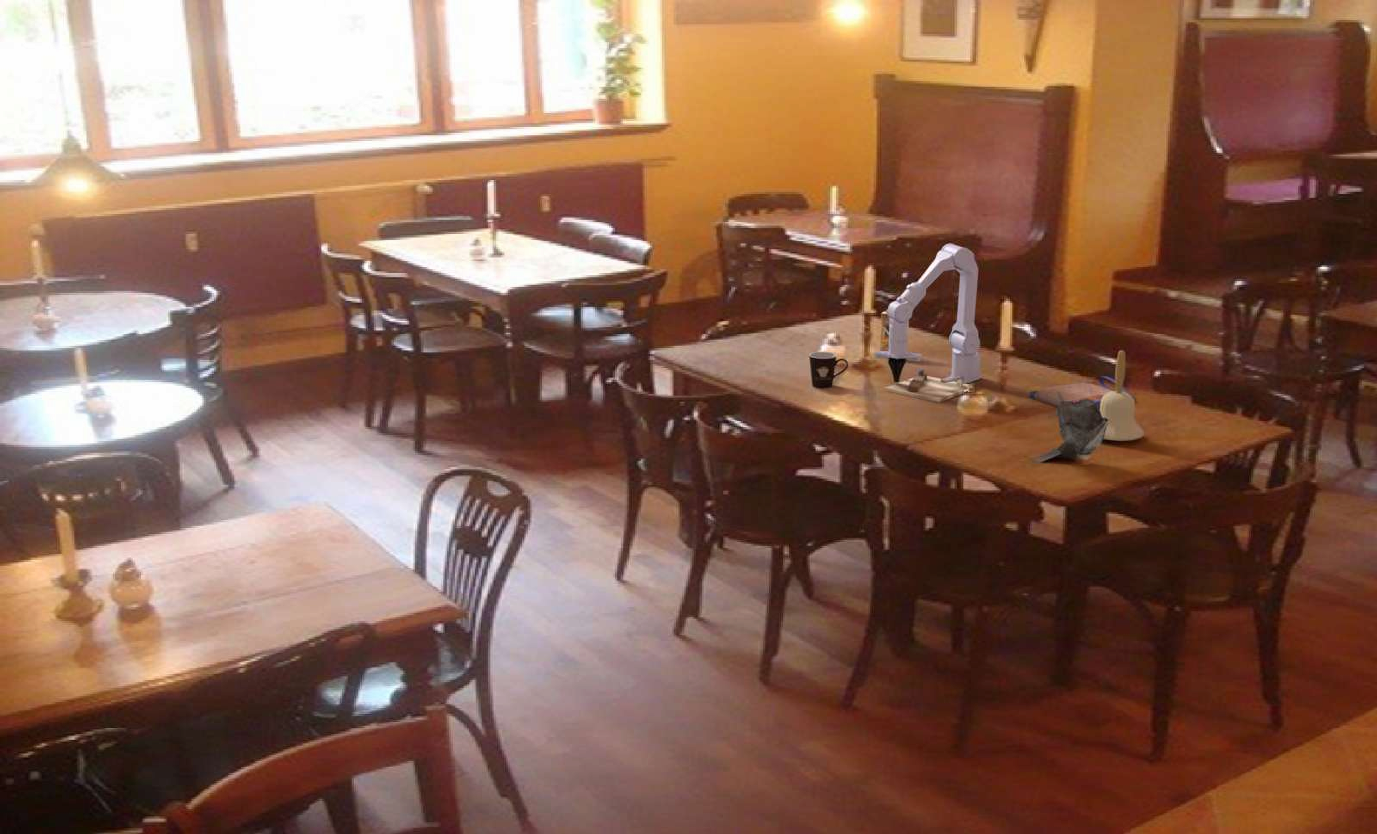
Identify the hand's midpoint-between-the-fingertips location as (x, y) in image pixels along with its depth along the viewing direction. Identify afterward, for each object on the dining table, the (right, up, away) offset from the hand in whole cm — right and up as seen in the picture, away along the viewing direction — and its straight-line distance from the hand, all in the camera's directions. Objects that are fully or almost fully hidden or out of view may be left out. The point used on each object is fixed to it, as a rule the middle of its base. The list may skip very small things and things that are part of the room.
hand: (896, 381), depth 441 cm
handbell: (+53, -17, -51) cm, 76 cm away
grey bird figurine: (+36, -23, -71) cm, 83 cm away
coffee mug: (-22, -2, +2) cm, 22 cm away
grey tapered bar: (+6, -1, -1) cm, 7 cm away
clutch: (+55, -6, -15) cm, 57 cm away
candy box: (+5, +9, +37) cm, 39 cm away
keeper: (+16, -3, -5) cm, 17 cm away
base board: (+10, -3, -3) cm, 11 cm away
